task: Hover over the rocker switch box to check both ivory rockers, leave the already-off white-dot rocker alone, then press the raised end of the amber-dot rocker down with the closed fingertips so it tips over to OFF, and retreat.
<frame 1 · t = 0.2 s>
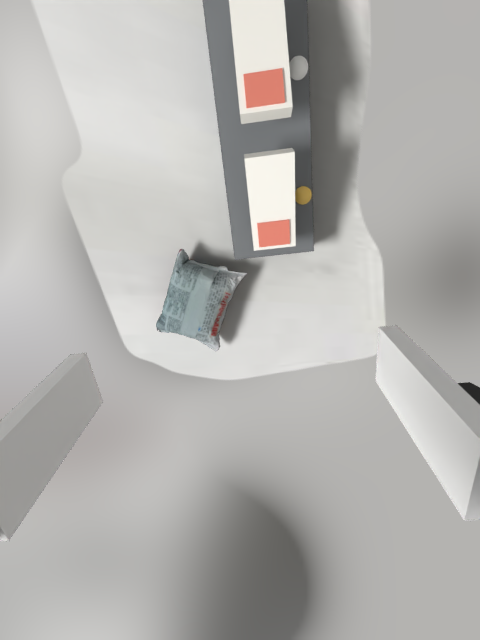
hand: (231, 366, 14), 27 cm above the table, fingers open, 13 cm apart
rocker switch box: (263, 145, 35), on the table
rocker white: (260, 59, 27), point 7 cm above the table, hinge at -17.0°
rocker amber: (271, 203, 31), point 7 cm above the table, hinge at 17.0°
packaged food: (203, 297, 43), on the table
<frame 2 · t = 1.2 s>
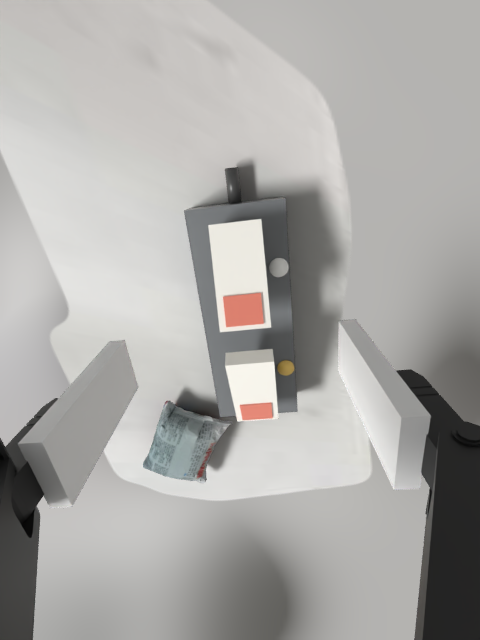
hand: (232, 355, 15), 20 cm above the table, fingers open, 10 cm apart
rocker switch box: (248, 311, 35), on the table
rocker white: (240, 277, 27), point 7 cm above the table, hinge at -17.0°
rocker amber: (253, 388, 32), point 7 cm above the table, hinge at 17.0°
packaged food: (191, 431, 43), on the table
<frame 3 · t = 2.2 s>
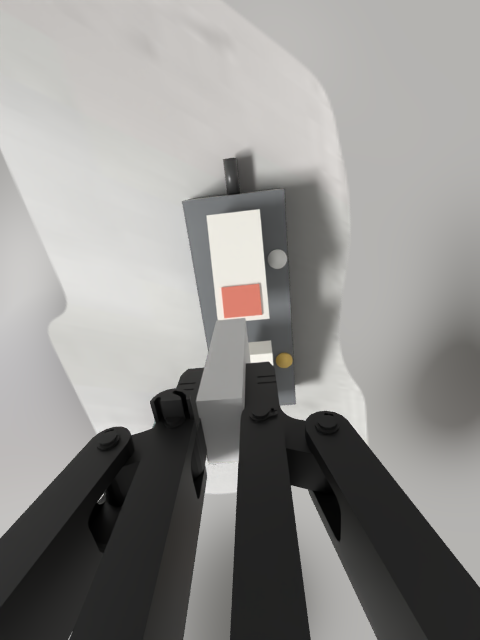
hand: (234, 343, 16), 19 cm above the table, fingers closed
rocker switch box: (246, 303, 35), on the table
rocker white: (238, 268, 27), point 7 cm above the table, hinge at -17.0°
rocker amber: (252, 380, 32), point 7 cm above the table, hinge at 17.0°
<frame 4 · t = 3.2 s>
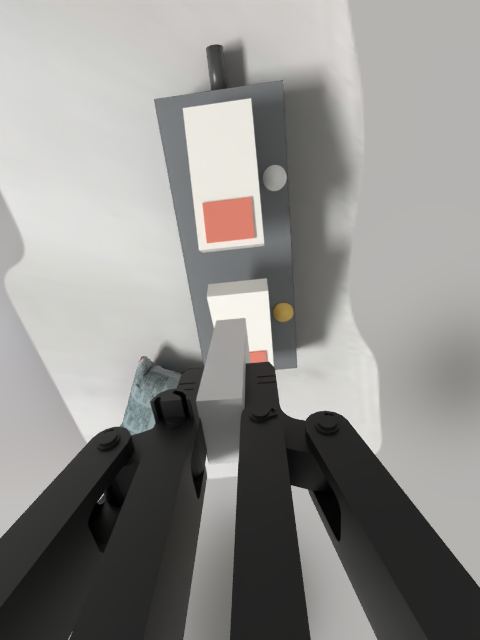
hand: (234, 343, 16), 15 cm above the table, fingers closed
rocker switch box: (238, 247, 30), on the table
rocker white: (225, 180, 21), point 7 cm above the table, hinge at -17.0°
rocker amber: (244, 332, 26), point 7 cm above the table, hinge at 17.0°
packaged food: (173, 397, 37), on the table
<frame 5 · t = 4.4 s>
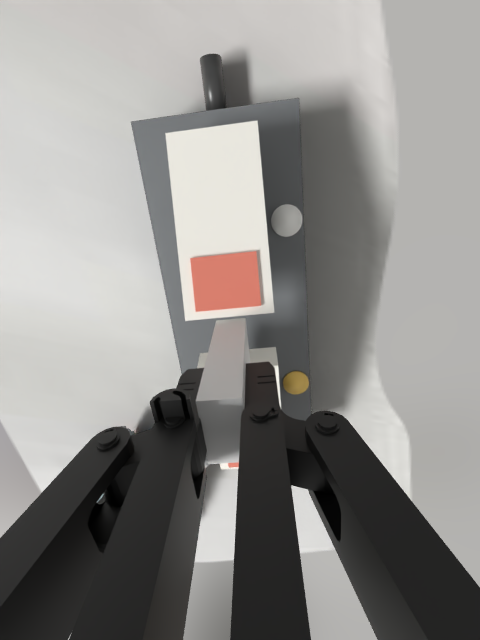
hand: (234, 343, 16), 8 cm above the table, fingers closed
rocker switch box: (239, 298, 24), on the table
rocker white: (222, 227, 16), point 7 cm above the table, hinge at -17.0°, touching gripper
rocker amber: (245, 414, 20), point 7 cm above the table, hinge at 11.8°, touching gripper
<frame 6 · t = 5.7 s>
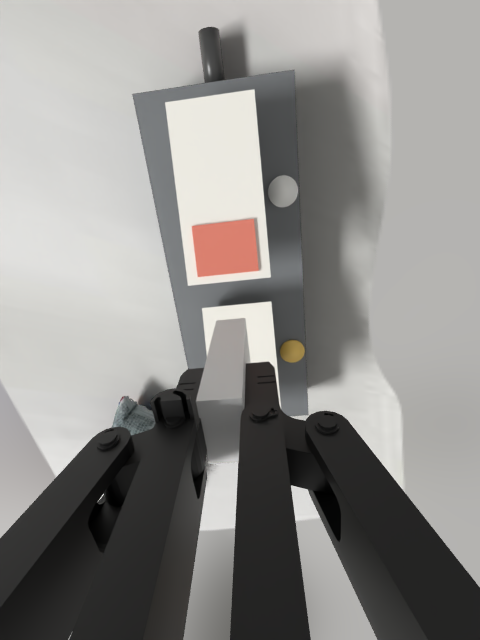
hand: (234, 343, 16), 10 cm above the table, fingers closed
rocker switch box: (238, 271, 25), on the table
rocker white: (221, 195, 17), point 7 cm above the table, hinge at -14.1°
rocker amber: (243, 372, 21), point 7 cm above the table, hinge at -19.6°
packaged food: (161, 439, 32), on the table
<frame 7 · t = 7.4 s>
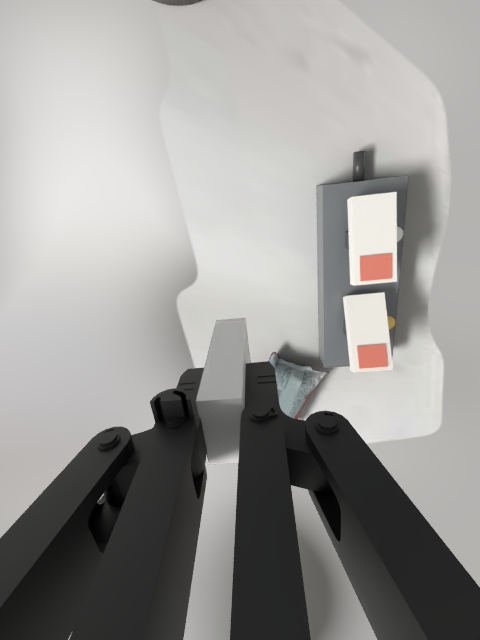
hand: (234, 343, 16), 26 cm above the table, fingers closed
rocker switch box: (352, 276, 42), on the table
rocker white: (372, 240, 33), point 7 cm above the table, hinge at -11.8°
rocker amber: (367, 332, 38), point 6 cm above the table, hinge at -26.0°
packaged food: (283, 384, 49), on the table
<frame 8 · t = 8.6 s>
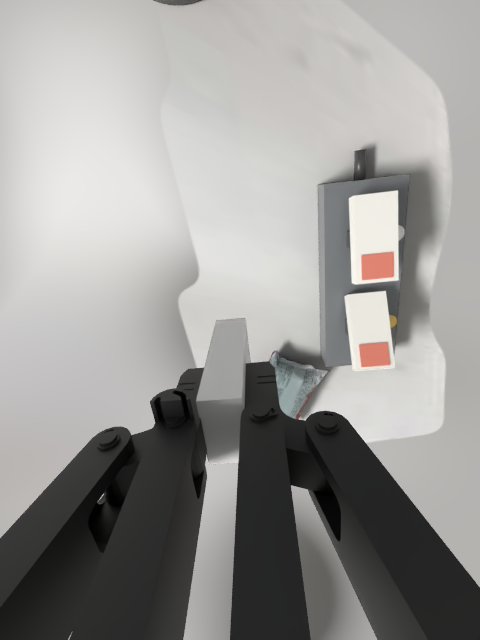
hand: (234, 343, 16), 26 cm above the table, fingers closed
rocker switch box: (353, 275, 42), on the table
rocker white: (373, 239, 33), point 7 cm above the table, hinge at -11.4°
rocker amber: (369, 331, 38), point 6 cm above the table, hinge at -27.0°
packaged food: (284, 382, 49), on the table
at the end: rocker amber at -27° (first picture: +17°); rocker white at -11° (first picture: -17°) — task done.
